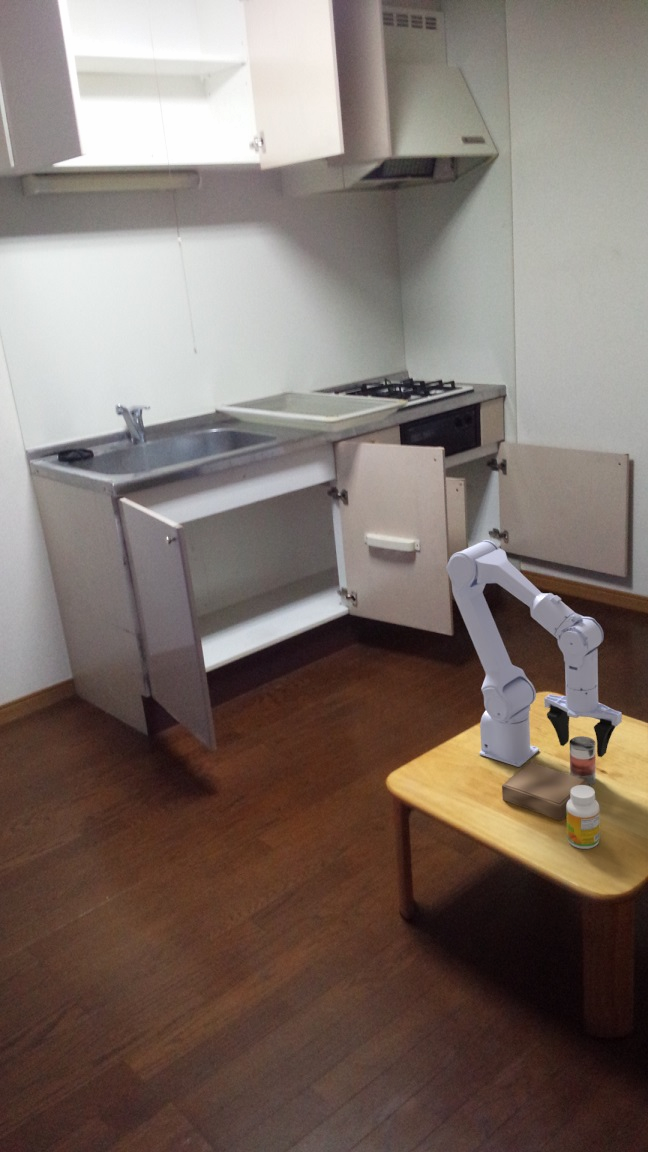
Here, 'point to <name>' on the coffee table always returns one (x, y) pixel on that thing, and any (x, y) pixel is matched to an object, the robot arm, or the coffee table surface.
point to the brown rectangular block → (541, 789)
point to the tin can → (583, 758)
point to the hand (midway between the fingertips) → (582, 748)
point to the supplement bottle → (583, 818)
